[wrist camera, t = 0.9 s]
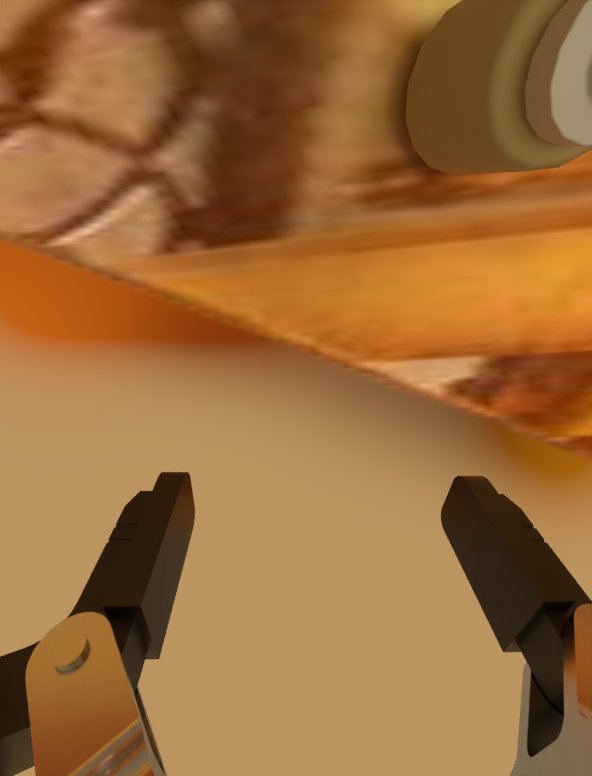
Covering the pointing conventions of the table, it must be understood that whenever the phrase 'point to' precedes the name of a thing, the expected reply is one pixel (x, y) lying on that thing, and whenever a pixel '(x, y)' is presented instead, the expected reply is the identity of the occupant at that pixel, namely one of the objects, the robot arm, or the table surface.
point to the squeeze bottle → (503, 87)
